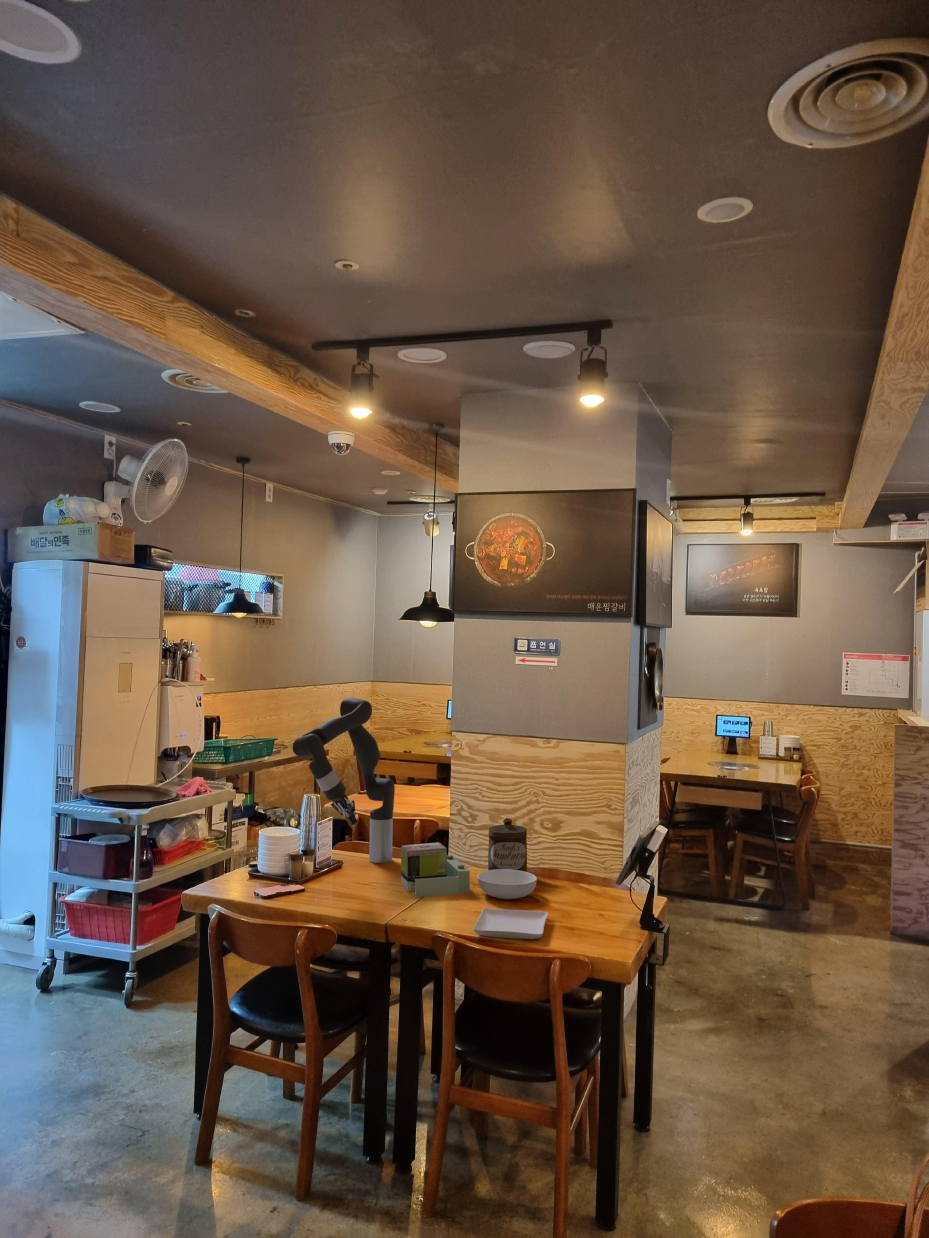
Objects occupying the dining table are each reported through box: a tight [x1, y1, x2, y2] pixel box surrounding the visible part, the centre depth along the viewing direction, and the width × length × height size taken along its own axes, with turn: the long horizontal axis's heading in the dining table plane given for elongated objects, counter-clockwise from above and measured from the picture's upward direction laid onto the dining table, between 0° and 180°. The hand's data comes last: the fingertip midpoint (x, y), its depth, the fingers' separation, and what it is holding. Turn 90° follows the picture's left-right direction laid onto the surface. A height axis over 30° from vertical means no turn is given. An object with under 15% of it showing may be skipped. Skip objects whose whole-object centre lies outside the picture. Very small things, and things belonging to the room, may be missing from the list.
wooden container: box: [487, 817, 528, 872], centre depth 325 cm, size 15×15×22 cm
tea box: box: [400, 842, 448, 892], centre depth 309 cm, size 15×10×15 cm
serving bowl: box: [477, 869, 538, 900], centre depth 299 cm, size 21×21×7 cm
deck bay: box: [414, 854, 471, 898], centre depth 308 cm, size 22×20×9 cm
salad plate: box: [472, 908, 549, 940], centre depth 263 cm, size 21×21×3 cm
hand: (354, 823), depth 304 cm, fingers closed
